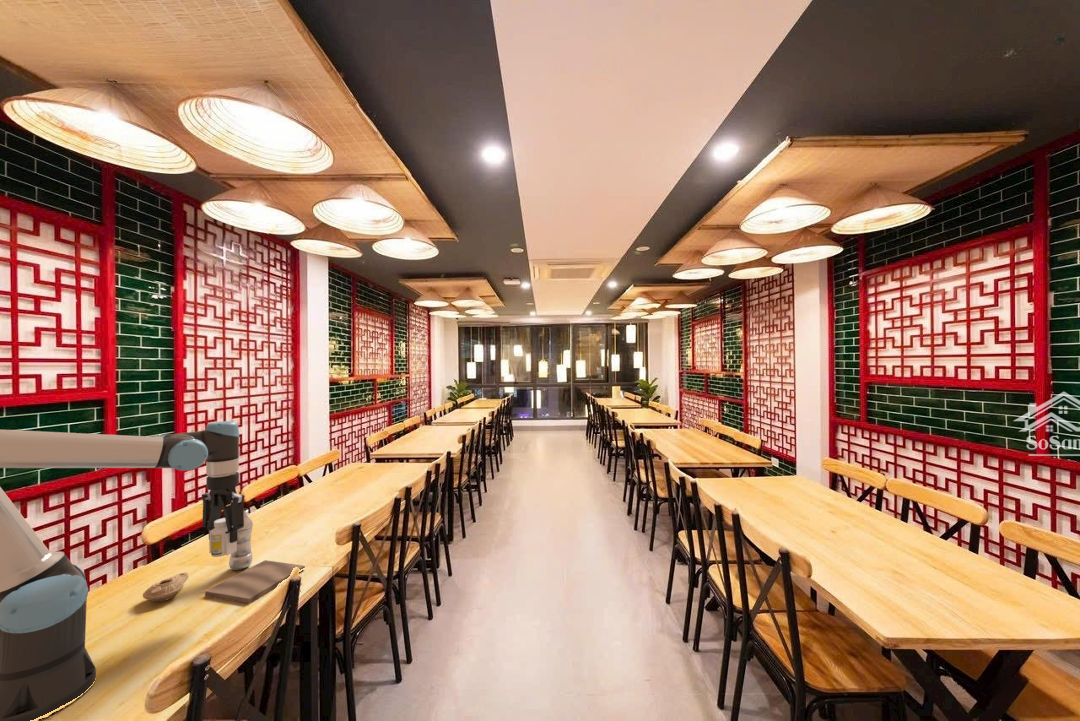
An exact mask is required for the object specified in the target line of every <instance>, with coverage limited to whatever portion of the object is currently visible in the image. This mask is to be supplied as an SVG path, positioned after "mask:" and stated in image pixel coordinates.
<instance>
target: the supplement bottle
mask: <svg viewBox="0 0 1080 721" xmlns="http://www.w3.org/2000/svg"><path fill="white" fill-rule="evenodd" d="M214 527H215V528H214V529H213V530H212V531H211V553H210V554H211V557H214V558H219V557H224V556H226V555H225V532H227V531H228V530H227V525H226V520H225V517H222V518H221V517H220V519H218V520H216V521H214Z"/></svg>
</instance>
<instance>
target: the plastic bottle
mask: <svg viewBox="0 0 1080 721" xmlns="http://www.w3.org/2000/svg"><path fill="white" fill-rule="evenodd" d="M243 513H244V527H243V528H241V529H238V531H237V533H238V539H237V551H235V552H233V553H231V554H230V557H229V561H228V566H229V568H230V570H232V571H240V570H241V571H242V570H244V569H247V568H248V567H250V565H251V564H252V562H253V552H252V546H251V545H252V544H251V541H252V532H253V526H254V523H253V520H252V519H251V518H250V517H249V515H250V513H249V509H248V508H243Z"/></svg>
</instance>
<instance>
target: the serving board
mask: <svg viewBox="0 0 1080 721" xmlns="http://www.w3.org/2000/svg"><path fill="white" fill-rule="evenodd" d="M305 566H306V565H302V564H296V563H287V562H281V561H275V560H265V559H264V560H262V561H261V562H259V563H257V564H255V565H253V566H251V567H249V568H248V569H247V568H246V570H244V571H242V572H239V573H238V574H236V575H234V576H232V577H230V578H228V579H226V580H225V581H222V582H220V583H218V584H217V585H215V586H212V587H211V588H208V589H207V590H205V591H204V596H205V597H207V598H212V599H213V598H214V599H218V600H219V599H220V600H225V601H230V602H236V603H242V604H249V605H250V604H252V603H253V602H255V601H256V600H258V599H259V598H261V597H263V596H264V595H266V594H268V593H269V592H271V591H273V590H274V589H276V588H277V587H276V586H277V585H278V584H279V583H281V582H282V581H283V580H285V579H287V578H288V577H289V576H290V574H291V572H292V570H293V568H295V567H298V568H299V569H300V570H301V569H303V568H305ZM275 587H276V588H275Z"/></svg>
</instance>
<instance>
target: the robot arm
mask: <svg viewBox="0 0 1080 721" xmlns="http://www.w3.org/2000/svg"><path fill="white" fill-rule="evenodd" d="M239 430H240V429H239V424H238V422H236V421H234V420H233V421H232V420H227V421H226V420H223V421H215V422H209V423H208V424H206V427H205V430H203V429H202V430H200V431H199V430H198V431H192V432H179V433H169V434H168V433H165V434H162V435H155V436H154V435H153V436H147V435H146V436H142V435H121V434H104V433H103V434H101V433H84V432H83V433H82V432H79V433H77V432H60V431H41V430H35V431H34V430H20V429H19V430H18V429H0V469H109V468H110V469H112V468H113V469H138V468H140V469H146V468H147V469H174V470H177V471H182V472H183V471H184V472H185V471H192V470H195V469H198V468H199V467H200V466H202V465H203V464H204V463H205V462H206V467H205V468H206V469H205V470H206V471H205V474H206V476H207V477H206V484H205V485H206V486H205V487H206V490H207V491H208V490H209V492H206V493H203V494H201V500H202V527H203V528H206V529H207V531H208V540H209V542H208V543H209V545H208V546H209V547H208V548H209V554H211V531H212V530H213V529H214V528H215V527H214V521H216V520H218V519H221V516H222V512H223V515H224V518H225V520H226V525H227V530H228V531H227V532H225V555H224V556H228V555H231V553H233V552H235V551H237V539H238V533H237V531H238V529H241V528H243V527H244V513H243V509H244V501H245V494H238V491H237V490H236V487H237V486H238V485H239V483H240V472H238V471H239V470H240V461H239V460H240V457H239V456H240V454H239V453H240V446H239V445H240V432H239ZM87 584H88V583H87V580H86V574H85V573H84V571H83V569H81V568H80V567H79V566H77V565H76V564H74V563H73V562H72V561H70V558H69V557H67V555H66V554H65V553H64V551H51V550H49V548H48V547H47V546H46V545H45V543H44V542H43V541H42V539H40V537H39V536H38V534H37V533H36V531H35V530H34V529H33V528H32V526H31V525H30V524H29V522H28V521H27V520H26V518H25V517H24V516H23V515H22V513H21V512H20V510H19V509H18V508H17V507H16V505H15V504H14V502H12V499H10V497H8V495H7V494H6V492H5V491H4V489H3V488H2V487H1V486H0V721H30V720H34V719H36V718H38V717H40V716H43V715H45V714H47V713H49V712H51V711H53V710H55V709H57V708H59V707H60V706H62V705H65V704H66V703H68V702H70V701H72V700H73V699H75V698H77V697H78V696H80V695H81V694H82V693H84V692H85V691H86V690H87V689H88V688H89V687H90V686H91V685H92V684H93V682H94V681H95V682H96V680H95V678H96V679H97V668H96V666H95V663H94V662H93V660H92V658H91V657H90V655H89V652H88V651H87V649H86V625H87V600H88V599H87V598H88V595H89V587H88V585H87ZM93 685H94V684H93Z"/></svg>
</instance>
